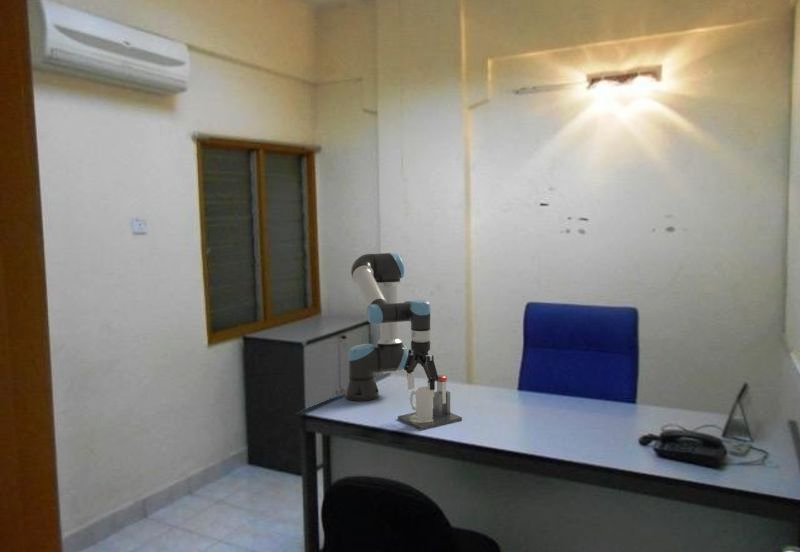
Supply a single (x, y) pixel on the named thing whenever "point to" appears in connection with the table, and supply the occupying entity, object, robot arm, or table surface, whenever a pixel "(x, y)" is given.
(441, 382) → the red-capped tube
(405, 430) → the table surface
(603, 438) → the table surface
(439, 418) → the dark grey holder stand
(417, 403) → the mug
